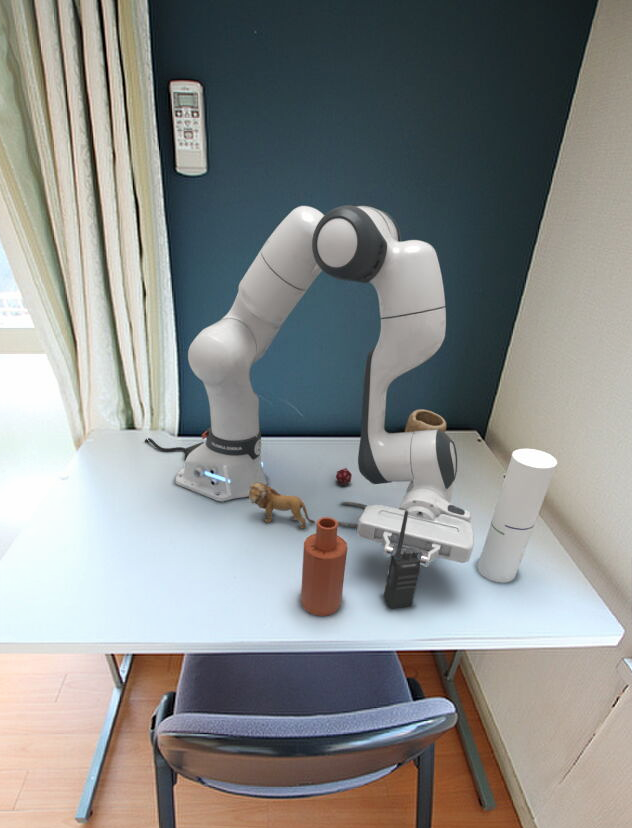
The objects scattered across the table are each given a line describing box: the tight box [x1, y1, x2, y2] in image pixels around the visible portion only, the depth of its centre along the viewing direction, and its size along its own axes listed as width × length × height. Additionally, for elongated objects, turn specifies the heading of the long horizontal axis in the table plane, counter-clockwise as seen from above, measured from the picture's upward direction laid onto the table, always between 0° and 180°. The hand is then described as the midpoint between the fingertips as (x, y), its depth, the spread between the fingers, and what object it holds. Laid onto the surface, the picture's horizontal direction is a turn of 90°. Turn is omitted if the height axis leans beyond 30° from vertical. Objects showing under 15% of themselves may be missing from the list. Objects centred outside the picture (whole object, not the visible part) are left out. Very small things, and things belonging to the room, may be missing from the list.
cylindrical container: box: [477, 448, 558, 584], centre depth 94 cm, size 7×7×25 cm
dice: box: [335, 467, 352, 486], centre depth 127 cm, size 4×4×4 cm
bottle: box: [300, 516, 348, 617], centre depth 88 cm, size 7×7×18 cm
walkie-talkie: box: [383, 510, 421, 609], centre depth 88 cm, size 5×3×20 cm
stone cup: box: [404, 408, 447, 433], centre depth 133 cm, size 15×12×15 cm
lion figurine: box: [248, 483, 315, 530], centre depth 111 cm, size 15×5×9 cm, turn 81°
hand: (406, 558), depth 86 cm, fingers closed on walkie-talkie, 5 cm apart
